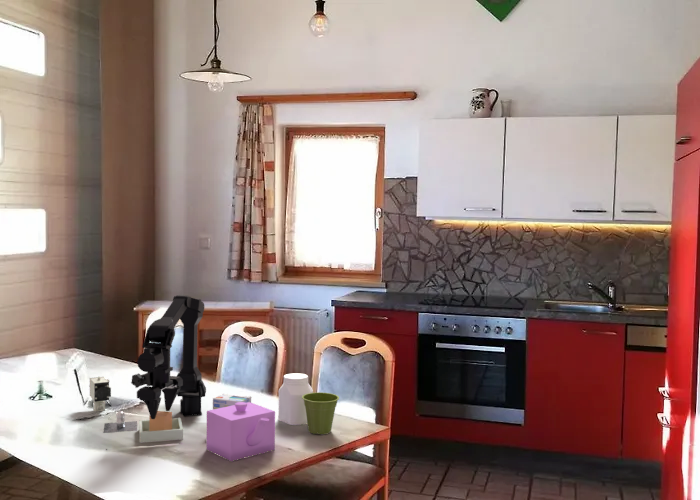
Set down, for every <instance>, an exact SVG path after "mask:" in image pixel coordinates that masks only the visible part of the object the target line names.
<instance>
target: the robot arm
mask: <svg viewBox="0 0 700 500" xmlns="http://www.w3.org/2000/svg"><path fill="white" fill-rule="evenodd" d="M204 312H205V303H204V301H202V299H200V298H194V297H191V296H189V295H184V294H183V295H181V294H178V295H174V297H173V299H172V301H171V304H169V306H168V308H167V309H166V311H165V312H164V314H163V315H162V316H161V318H159V319H156V320H154V321H153V322H152V323H151V324H150V325H149V326H148V327H147V330H146V332H145V337H144V340H143V343H142V346H141V347H142V348H143V353H141V354H139V356H138V358H137V361H136V363H137V367H138V368H139V369H140V371H142V372H144V373H143V374H140V373H135V374H132V376H131V382H130V383H131V385H133V386H134V387H135V389H137V388H139V387H140V388H139V389H138V390H137V391H136V399H139V400H140V401H143V402H144V404H145V405H146V408H147V411H148V413H149V415H150V417H151V419H155V418H156V415H157V411H159V407H160V404H161V401H162V397H161V396H162V393H163V396H164V397H163V398H164V406H165V412H171V408H172V406H173V403H174V402H175V399H176V398H177V397H181V399H180V400H179V403H180V405H179V411H180V414H181V415H182V416H183V417H186V416H187V417H189V416H202V415H203V412H202V398H203V397H204V398H205V397H206V394H207V393H206V392H207V387H206V385H205V383H204V381H203V378H202V376H203V375H202V372H201V371H200V369H199V368H198V335H199V334H198V329H199V328H198V326H199V323H200V321H201V320H202V319H203V317H204V316H203V315H204ZM179 321H180V322H181V324H182V325H183V326H182V328H183V331H182V332H183V333H182V340H183V341H182V367H181V369H180V371H179V372H178V373H177V375H176V376H175V375H171V372H172V371H173V370H174V367H173V366H171V348H173V345H172V344H173V341H174V340H175V336H176V331H175V327H176V326H177V325H178V322H179ZM144 385H145V386H144ZM141 386H143V387H141Z"/></svg>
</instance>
